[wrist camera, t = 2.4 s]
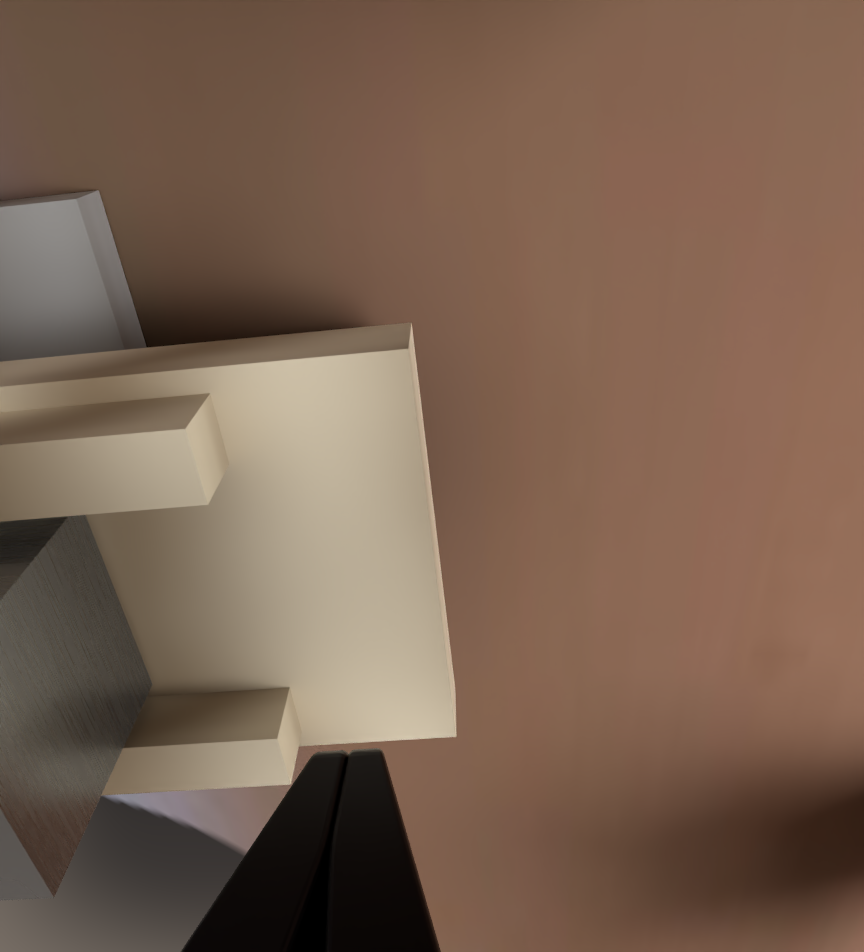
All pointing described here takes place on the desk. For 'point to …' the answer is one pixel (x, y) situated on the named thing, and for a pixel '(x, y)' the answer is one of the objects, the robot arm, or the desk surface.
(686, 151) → the desk surface
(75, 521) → the block
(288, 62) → the desk surface
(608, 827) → the desk surface
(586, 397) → the desk surface
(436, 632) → the balance beam
